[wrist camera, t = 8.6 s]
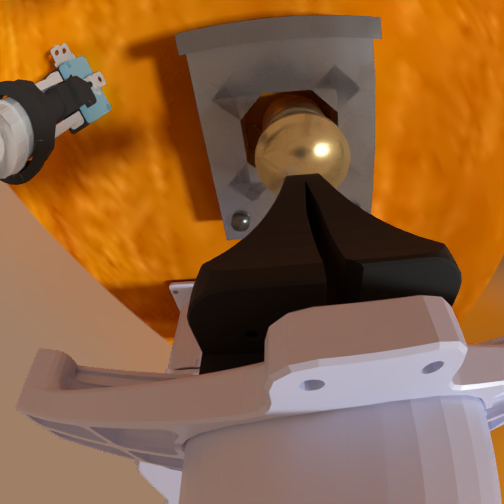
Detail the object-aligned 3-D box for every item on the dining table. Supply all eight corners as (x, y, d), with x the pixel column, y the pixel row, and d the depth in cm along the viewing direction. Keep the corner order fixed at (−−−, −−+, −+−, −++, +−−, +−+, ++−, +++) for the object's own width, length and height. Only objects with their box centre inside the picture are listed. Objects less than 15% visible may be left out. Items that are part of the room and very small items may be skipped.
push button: (41, 64, 15) (-61, 111, 8) (95, 22, 14) (-13, 42, 6) (79, 134, 19) (-5, 210, 12) (135, 101, 18) (51, 166, 10)
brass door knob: (331, 151, 20) (352, 195, 16) (264, 159, 21) (264, 206, 16) (324, 86, 17) (346, 109, 13) (251, 95, 18) (245, 122, 13)
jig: (360, 208, 23) (374, 241, 20) (230, 219, 24) (225, 253, 21) (358, 18, 14) (380, 17, 11) (191, 32, 15) (174, 34, 12)
